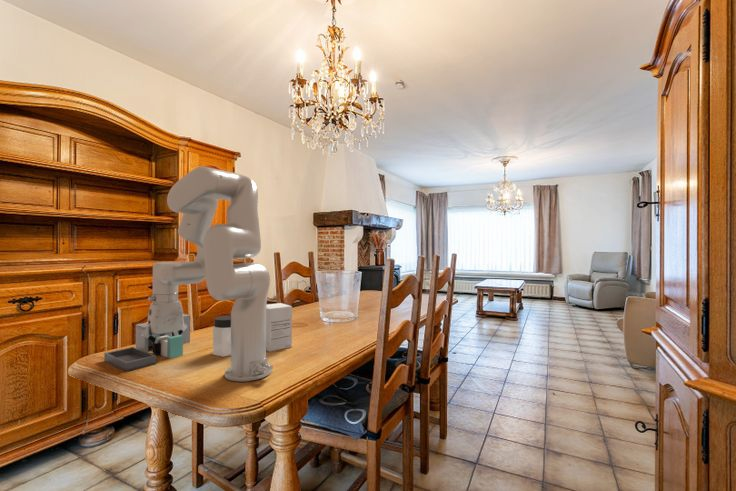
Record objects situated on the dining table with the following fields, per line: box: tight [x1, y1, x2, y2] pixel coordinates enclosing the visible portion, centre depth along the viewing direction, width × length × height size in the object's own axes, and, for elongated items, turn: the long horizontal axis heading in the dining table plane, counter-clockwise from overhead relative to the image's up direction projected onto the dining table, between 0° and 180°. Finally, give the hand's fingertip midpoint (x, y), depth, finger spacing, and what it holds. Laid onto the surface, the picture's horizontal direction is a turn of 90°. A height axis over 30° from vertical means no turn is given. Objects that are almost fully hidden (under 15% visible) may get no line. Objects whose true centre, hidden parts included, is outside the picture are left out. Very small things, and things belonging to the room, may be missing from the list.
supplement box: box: [266, 302, 293, 352], centre depth 124 cm, size 9×9×15 cm
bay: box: [135, 313, 191, 353], centre depth 125 cm, size 7×16×10 cm, turn 146°
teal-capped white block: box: [159, 335, 184, 360], centre depth 116 cm, size 11×4×6 cm, turn 56°
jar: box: [212, 314, 231, 358], centre depth 117 cm, size 9×8×12 cm
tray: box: [103, 346, 157, 372], centre depth 107 cm, size 16×8×2 cm, turn 56°
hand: (165, 351), depth 117 cm, fingers open, 4 cm apart
